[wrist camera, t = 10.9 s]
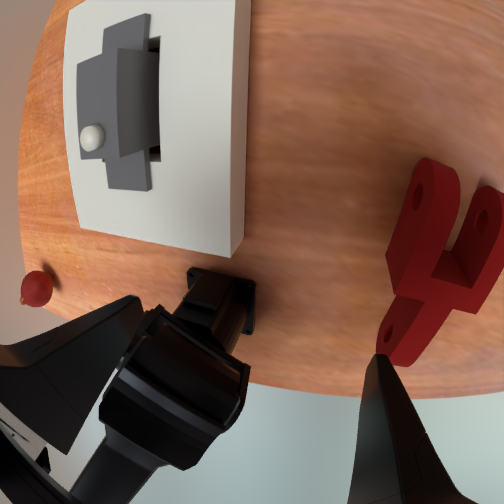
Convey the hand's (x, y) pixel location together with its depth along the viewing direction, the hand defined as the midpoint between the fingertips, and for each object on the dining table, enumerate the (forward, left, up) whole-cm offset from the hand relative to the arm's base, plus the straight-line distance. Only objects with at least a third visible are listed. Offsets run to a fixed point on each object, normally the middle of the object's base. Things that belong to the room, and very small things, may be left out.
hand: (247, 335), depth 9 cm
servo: (+8, +12, -12) cm, 19 cm away
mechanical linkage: (-3, -10, -12) cm, 17 cm away
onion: (-16, +38, -12) cm, 43 cm away
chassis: (+8, +12, -12) cm, 19 cm away
